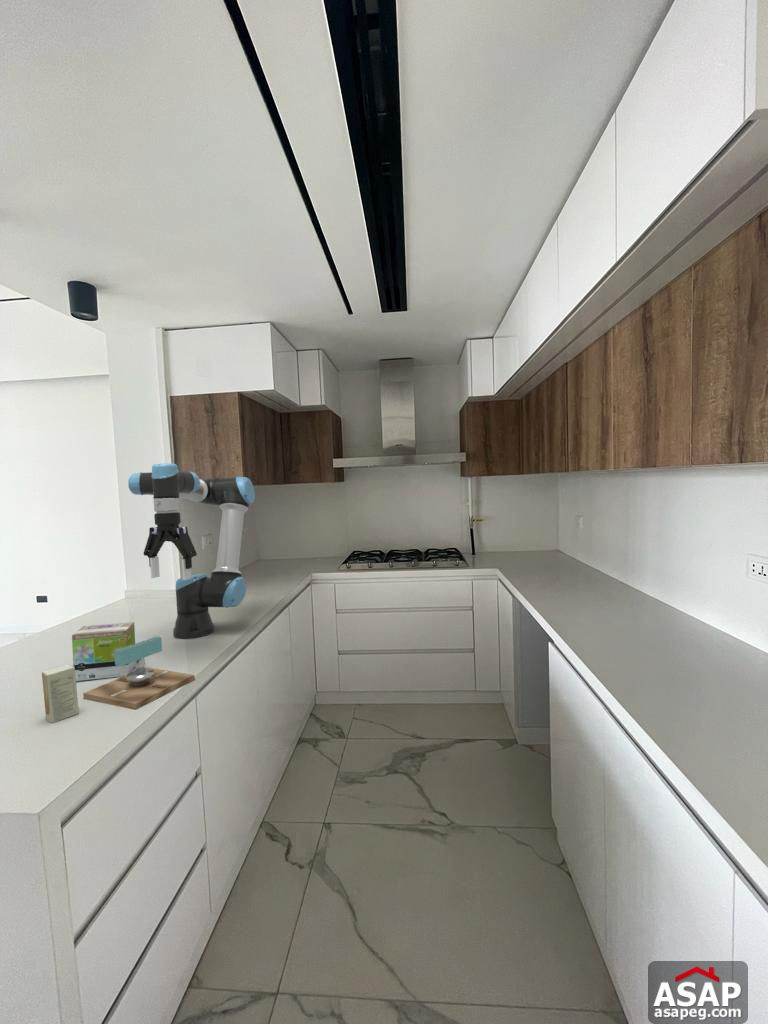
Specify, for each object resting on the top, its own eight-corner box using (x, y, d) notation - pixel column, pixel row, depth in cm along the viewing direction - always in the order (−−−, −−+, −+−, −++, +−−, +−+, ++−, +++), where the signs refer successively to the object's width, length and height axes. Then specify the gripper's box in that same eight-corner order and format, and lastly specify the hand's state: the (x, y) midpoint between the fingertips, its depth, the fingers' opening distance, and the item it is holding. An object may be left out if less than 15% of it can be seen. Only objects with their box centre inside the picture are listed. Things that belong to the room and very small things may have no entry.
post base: (145, 671, 146) (145, 662, 146) (194, 679, 138) (194, 669, 138) (83, 698, 128) (82, 687, 127) (135, 709, 120) (135, 698, 120)
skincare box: (73, 709, 121) (70, 663, 121) (79, 713, 118) (76, 666, 118) (43, 719, 116) (40, 671, 116) (49, 724, 113) (46, 674, 113)
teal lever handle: (110, 684, 128) (108, 646, 128) (152, 667, 140) (150, 633, 140) (127, 688, 125) (125, 649, 125) (168, 670, 137) (166, 635, 137)
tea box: (73, 683, 139) (70, 634, 138) (85, 671, 148) (82, 625, 148) (129, 676, 143) (126, 628, 142) (137, 665, 152) (134, 620, 152)
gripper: (128, 513, 150) (132, 578, 151) (187, 512, 140) (191, 582, 141) (148, 512, 157) (152, 574, 157) (206, 510, 147) (209, 577, 148)
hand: (170, 578), depth 149 cm, fingers open, 13 cm apart
